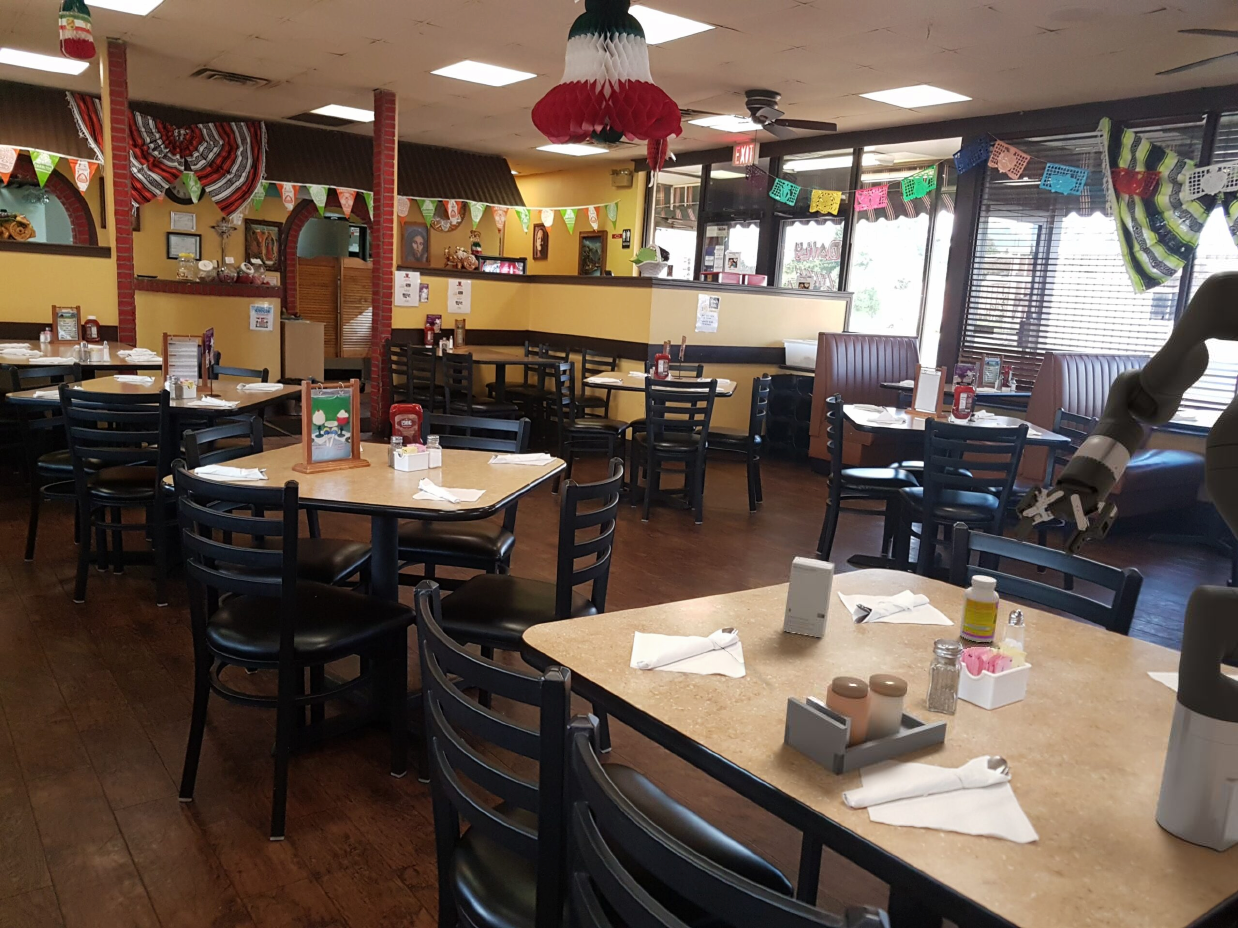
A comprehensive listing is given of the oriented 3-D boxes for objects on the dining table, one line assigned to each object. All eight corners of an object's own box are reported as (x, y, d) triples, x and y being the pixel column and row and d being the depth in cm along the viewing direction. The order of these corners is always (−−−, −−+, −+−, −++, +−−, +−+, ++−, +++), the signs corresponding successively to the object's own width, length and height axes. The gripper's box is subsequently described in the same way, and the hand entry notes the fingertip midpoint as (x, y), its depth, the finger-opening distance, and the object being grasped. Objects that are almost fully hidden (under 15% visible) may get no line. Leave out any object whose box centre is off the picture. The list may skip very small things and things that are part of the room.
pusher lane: (943, 746, 142) (949, 698, 141) (836, 781, 130) (842, 728, 128) (888, 717, 151) (893, 671, 150) (783, 747, 139) (787, 697, 137)
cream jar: (908, 740, 141) (915, 685, 140) (882, 747, 138) (889, 691, 137) (880, 724, 146) (887, 671, 144) (854, 731, 143) (861, 677, 141)
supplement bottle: (996, 645, 187) (1004, 585, 185) (962, 641, 189) (970, 581, 186) (990, 634, 194) (998, 575, 191) (957, 630, 195) (964, 572, 193)
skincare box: (782, 632, 188) (789, 562, 185) (787, 623, 194) (794, 554, 191) (824, 639, 185) (831, 568, 183) (828, 630, 191) (835, 560, 188)
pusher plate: (846, 763, 132) (851, 717, 131) (836, 766, 131) (841, 720, 130) (807, 739, 139) (811, 695, 138) (797, 742, 138) (801, 698, 137)
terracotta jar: (874, 752, 137) (882, 687, 135) (844, 762, 133) (851, 695, 132) (842, 734, 142) (849, 671, 140) (812, 743, 139) (819, 679, 137)
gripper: (1045, 447, 153) (993, 520, 149) (1131, 462, 141) (1077, 542, 137) (1060, 476, 157) (1009, 548, 152) (1144, 494, 145) (1092, 572, 141)
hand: (1041, 545), depth 145 cm, fingers open, 8 cm apart
